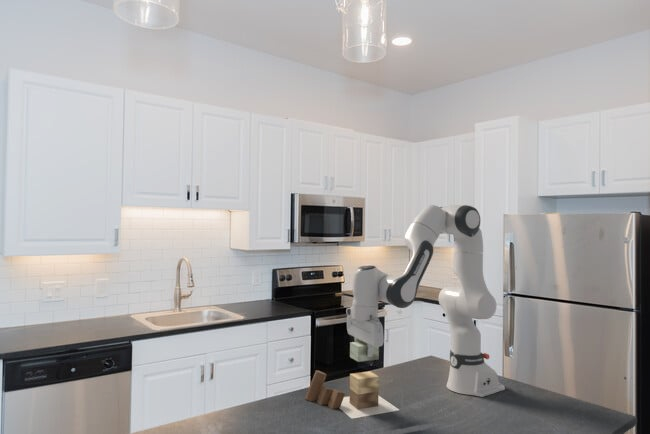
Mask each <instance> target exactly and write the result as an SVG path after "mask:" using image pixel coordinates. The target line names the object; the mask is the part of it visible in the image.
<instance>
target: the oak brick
mask: <svg viewBox="0 0 650 434" xmlns="http://www.w3.org/2000/svg"><path fill="white" fill-rule="evenodd" d="M379 381H380V378H379V375H377V374H375V373H374V372H372V371H370V370H369V371H362V372H354V373H349V390H350V389H351V390H352V391H354V392H355V393H357V394H365V393H371V392H377V391H379V388H380V387H379V386H380V385H379V384H380V382H379ZM379 392H380V391H379Z"/></svg>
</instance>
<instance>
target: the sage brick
mask: <svg viewBox="0 0 650 434" xmlns="http://www.w3.org/2000/svg"><path fill="white" fill-rule="evenodd" d="M366 351H368V343H366V342H364V341H362V340H361V341H359V342H355V341H352V342H349V357H350V359H352V360H354V361H356V362H359V363H361V362H366V361H367V362H368V361H375V360H379V357H380V356H379V355H380V354H379V353H380V346H378V347H375V348H374V351H373V356H372V357H368V356H367V355H366Z"/></svg>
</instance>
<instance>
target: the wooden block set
mask: <svg viewBox="0 0 650 434" xmlns="http://www.w3.org/2000/svg"><path fill="white" fill-rule="evenodd" d="M326 378H327V373H325V372H323V371H320V370H318V369H317V370H315V373H314V374H313V377H312V380H311V382H310V385H309V387H308V389H307V392H306V395H305V400H306V401H308V402H314V401H316V403H317V404H318V405H320V406H324V405H327V407H328V408H329V409H331V410H335V409H338V408H339V407H340V406H341V403H342V401H343V398H344V397H345V396H346V395H345V393H344V392H343V391H341V390H340V389H336V388H334V389H332V388H330V387H327V386H324V383H325V380H326ZM339 409H340V408H339Z"/></svg>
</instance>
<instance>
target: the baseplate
mask: <svg viewBox="0 0 650 434" xmlns="http://www.w3.org/2000/svg"><path fill="white" fill-rule="evenodd" d="M339 409H340V410H341V411H342V412H343V413H344V414H345V415H347V416H348V417H349V418H350V419H352V420H353V419H357V418H364V417H370V416H374V415H375V416H376V415H380V414H386V413H392V412H397V411H400V409H399V408H398V407H396V406H394V405H393V404H392V403H390V402H389V401H387V399H384V397H381V396H380V395H378V406H376V407H370V408H364V409H358V410H357V409H356V408H355V407H354V406H353V405H351V404H350V395H349V396H344V398H343V401H342V403H341V406H340V407H339Z"/></svg>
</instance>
